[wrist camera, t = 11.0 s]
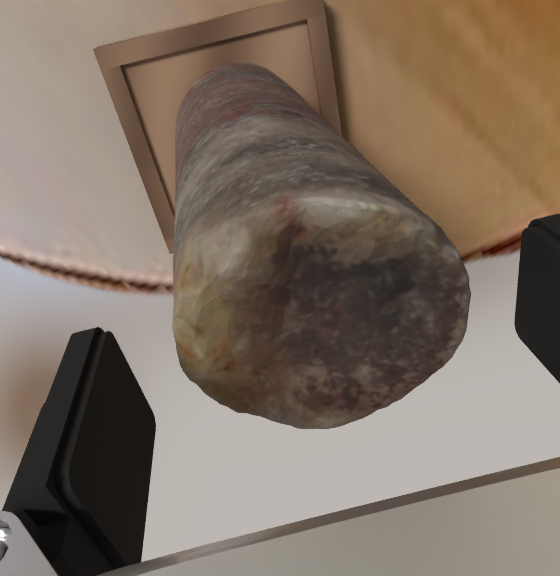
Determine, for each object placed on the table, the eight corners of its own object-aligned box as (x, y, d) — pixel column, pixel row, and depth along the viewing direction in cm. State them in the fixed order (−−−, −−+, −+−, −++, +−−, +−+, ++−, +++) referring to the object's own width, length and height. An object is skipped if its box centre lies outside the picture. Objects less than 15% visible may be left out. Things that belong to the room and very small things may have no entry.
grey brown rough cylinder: (328, 152, 29) (514, 363, 12) (228, 218, 30) (273, 494, 13) (259, 31, 25) (392, 98, 8) (148, 112, 27) (69, 314, 10)
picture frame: (316, -8, 26) (322, -8, 25) (345, 198, 32) (351, 207, 31) (97, 46, 26) (93, 49, 24) (170, 243, 32) (169, 254, 31)
